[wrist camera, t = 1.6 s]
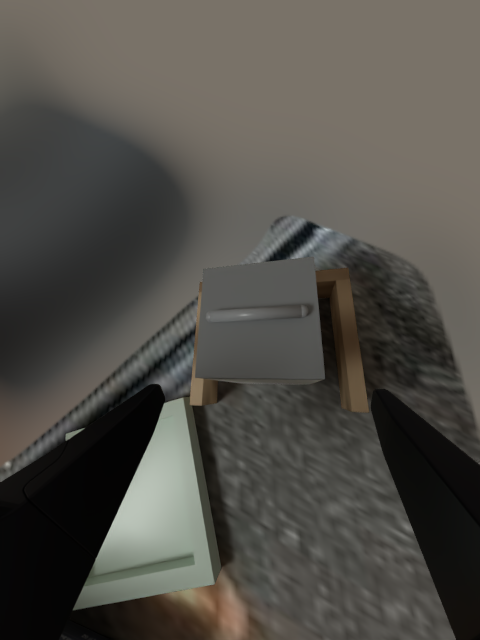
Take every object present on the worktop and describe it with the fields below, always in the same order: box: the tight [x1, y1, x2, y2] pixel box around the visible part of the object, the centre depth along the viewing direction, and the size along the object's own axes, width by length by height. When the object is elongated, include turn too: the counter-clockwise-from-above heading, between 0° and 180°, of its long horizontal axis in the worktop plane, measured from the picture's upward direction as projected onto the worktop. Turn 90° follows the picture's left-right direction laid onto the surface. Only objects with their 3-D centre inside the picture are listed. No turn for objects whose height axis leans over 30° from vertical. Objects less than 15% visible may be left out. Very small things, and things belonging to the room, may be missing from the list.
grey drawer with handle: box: [195, 257, 325, 385], centre depth 15 cm, size 6×6×11 cm
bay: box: [190, 268, 369, 413], centre depth 19 cm, size 10×12×4 cm
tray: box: [66, 397, 221, 610], centre depth 19 cm, size 12×12×2 cm
